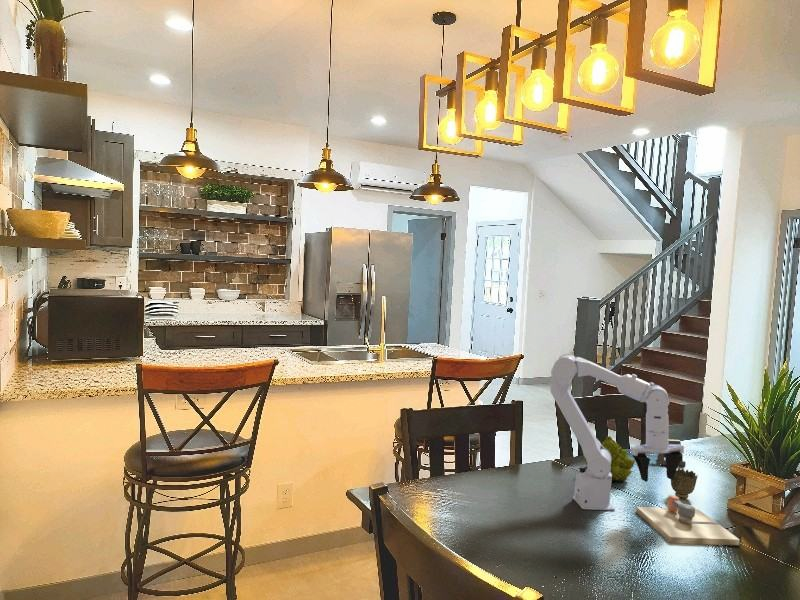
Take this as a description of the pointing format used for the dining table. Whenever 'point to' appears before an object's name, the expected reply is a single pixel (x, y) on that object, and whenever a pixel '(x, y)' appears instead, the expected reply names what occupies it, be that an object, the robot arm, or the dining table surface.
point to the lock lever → (680, 507)
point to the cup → (683, 483)
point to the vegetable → (616, 460)
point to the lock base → (687, 527)
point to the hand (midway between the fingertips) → (657, 479)
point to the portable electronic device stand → (662, 455)
